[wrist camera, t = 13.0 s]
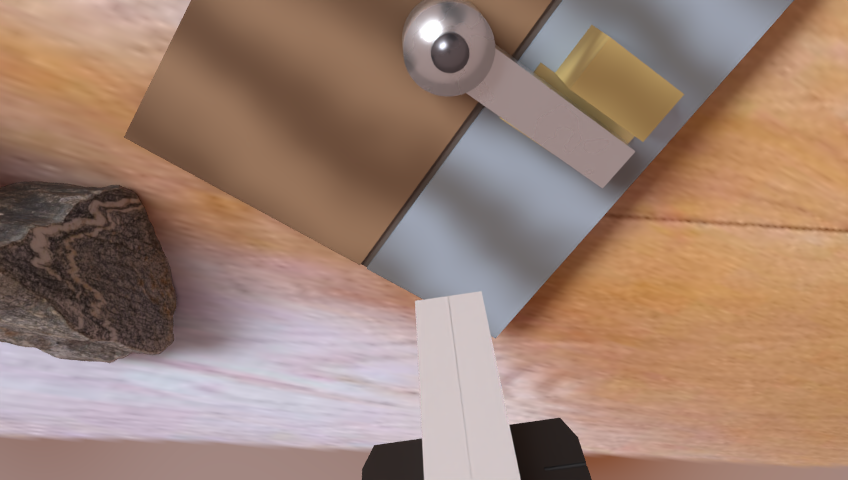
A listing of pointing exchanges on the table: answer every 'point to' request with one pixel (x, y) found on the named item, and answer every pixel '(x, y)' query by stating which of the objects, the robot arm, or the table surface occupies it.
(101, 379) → the table surface
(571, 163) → the latch bar
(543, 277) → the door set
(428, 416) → the robot arm
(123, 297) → the rock
